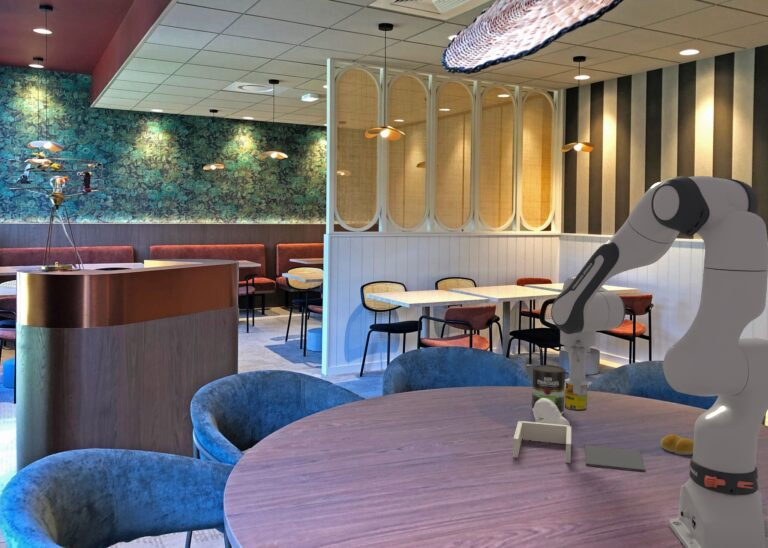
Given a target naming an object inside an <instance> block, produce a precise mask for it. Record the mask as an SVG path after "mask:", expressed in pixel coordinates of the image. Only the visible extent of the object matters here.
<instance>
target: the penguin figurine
mask: <svg viewBox="0 0 768 548" xmlns="http://www.w3.org/2000/svg"><path fill="white" fill-rule="evenodd" d="M532 413H533V414H532V415H533V417H534V419H535V421H534V422H537V423H548V424H559V425H570V421H569V420H568V419H566V418H565V417H564V416H563V414H561V413H560V411H559V410H558V408H557V406H556V405H555V404H554V403H553V402H552V401H551V400H549V399H547V398H541V399H539V400H538V401H537V402H536V403H535V405H534V408H533V411H532ZM570 426H571V425H570Z"/></svg>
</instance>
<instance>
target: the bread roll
mask: <svg viewBox="0 0 768 548" xmlns="http://www.w3.org/2000/svg"><path fill="white" fill-rule="evenodd" d="M659 445H660V447H661V448H662V449H663V450H664V451H667V452H670V453H674V454H676V455H680V456H691V455H692V456H693V447H694V439H690V438H686V437H682V436H680V435H678V434H675V433H669V434H667V435H665V436H664V437H663V438H661V440H660V443H659Z"/></svg>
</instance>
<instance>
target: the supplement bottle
mask: <svg viewBox="0 0 768 548" xmlns="http://www.w3.org/2000/svg"><path fill="white" fill-rule="evenodd" d="M588 388H589V387H588V381H587V380H586V379H585V380H584V381H581V391H580V394H574V393H573V380H571V379H570V371H569V372H568V378H565V389H564V411H566V412H568V413H571V414H584V413H586V412H587V409H588V408H587V406H588Z"/></svg>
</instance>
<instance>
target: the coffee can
mask: <svg viewBox="0 0 768 548" xmlns="http://www.w3.org/2000/svg"><path fill="white" fill-rule="evenodd" d="M566 371H567V370H566V369H565V368H564V367H561V366H558V365H549V364H539V365H534V366H532V388H531V389H532V390H531V391H532V395H531V412H533V408H534V405H535V403H536V402H537V401H538V400H539V399H541V398H547V399H549V400H551V401H552V402H553V403H554V404H555V405H556V406H557V408H558V410H559V411H560V413H561V414H562V415H563V414H564V413H565V383H566Z"/></svg>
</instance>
